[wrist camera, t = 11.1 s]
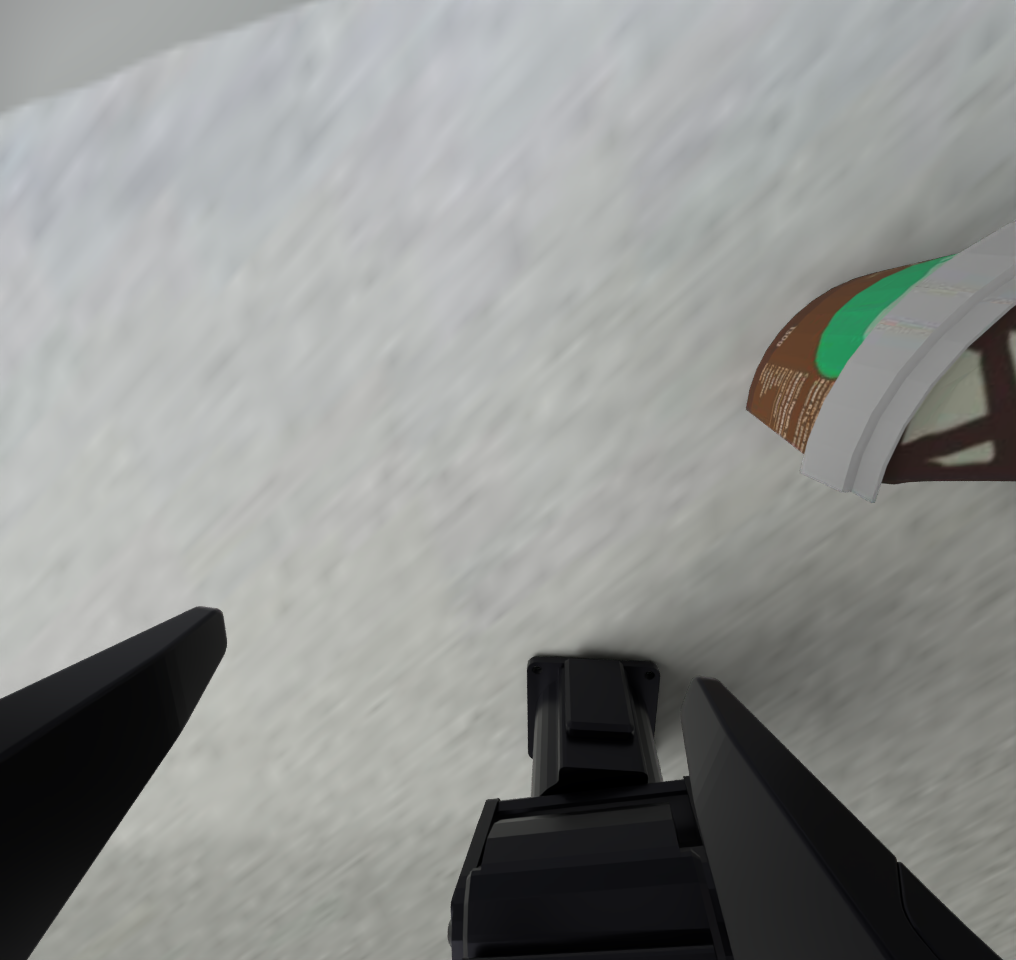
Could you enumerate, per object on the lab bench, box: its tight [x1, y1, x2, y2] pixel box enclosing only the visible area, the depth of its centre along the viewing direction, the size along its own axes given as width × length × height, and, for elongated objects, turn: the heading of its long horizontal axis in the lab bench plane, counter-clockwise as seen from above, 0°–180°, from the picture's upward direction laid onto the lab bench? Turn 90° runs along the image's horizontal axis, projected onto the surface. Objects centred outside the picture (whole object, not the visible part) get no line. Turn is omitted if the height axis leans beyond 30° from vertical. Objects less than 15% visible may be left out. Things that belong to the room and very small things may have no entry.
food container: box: [746, 220, 1016, 503], centre depth 13 cm, size 12×6×10 cm, turn 93°
